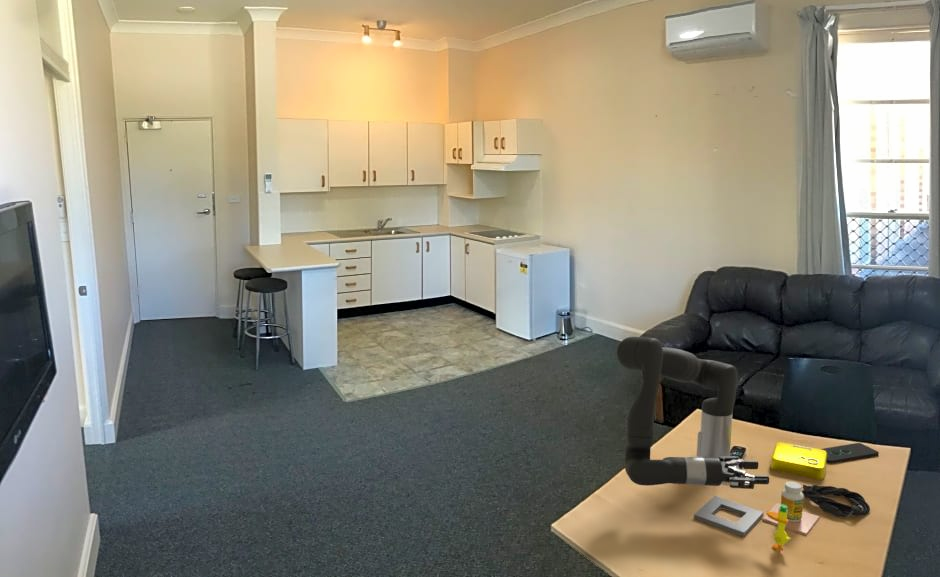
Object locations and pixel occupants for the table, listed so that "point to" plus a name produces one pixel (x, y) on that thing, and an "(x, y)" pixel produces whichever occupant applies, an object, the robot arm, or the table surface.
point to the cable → (833, 506)
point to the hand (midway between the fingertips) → (763, 472)
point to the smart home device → (849, 453)
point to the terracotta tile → (801, 526)
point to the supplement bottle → (793, 501)
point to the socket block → (739, 528)
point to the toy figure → (780, 526)
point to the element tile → (799, 460)
